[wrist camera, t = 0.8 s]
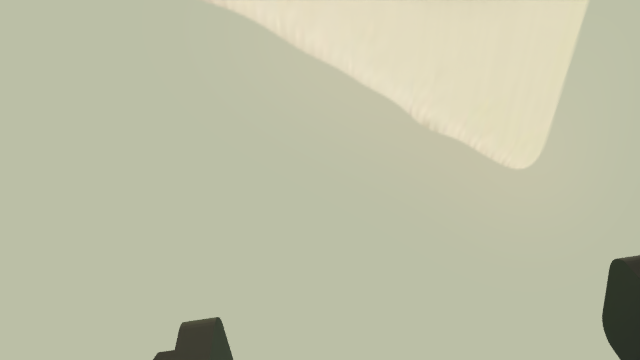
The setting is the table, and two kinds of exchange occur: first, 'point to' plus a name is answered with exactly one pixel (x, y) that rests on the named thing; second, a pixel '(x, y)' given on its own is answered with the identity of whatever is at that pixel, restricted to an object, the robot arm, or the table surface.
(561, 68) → the table surface
